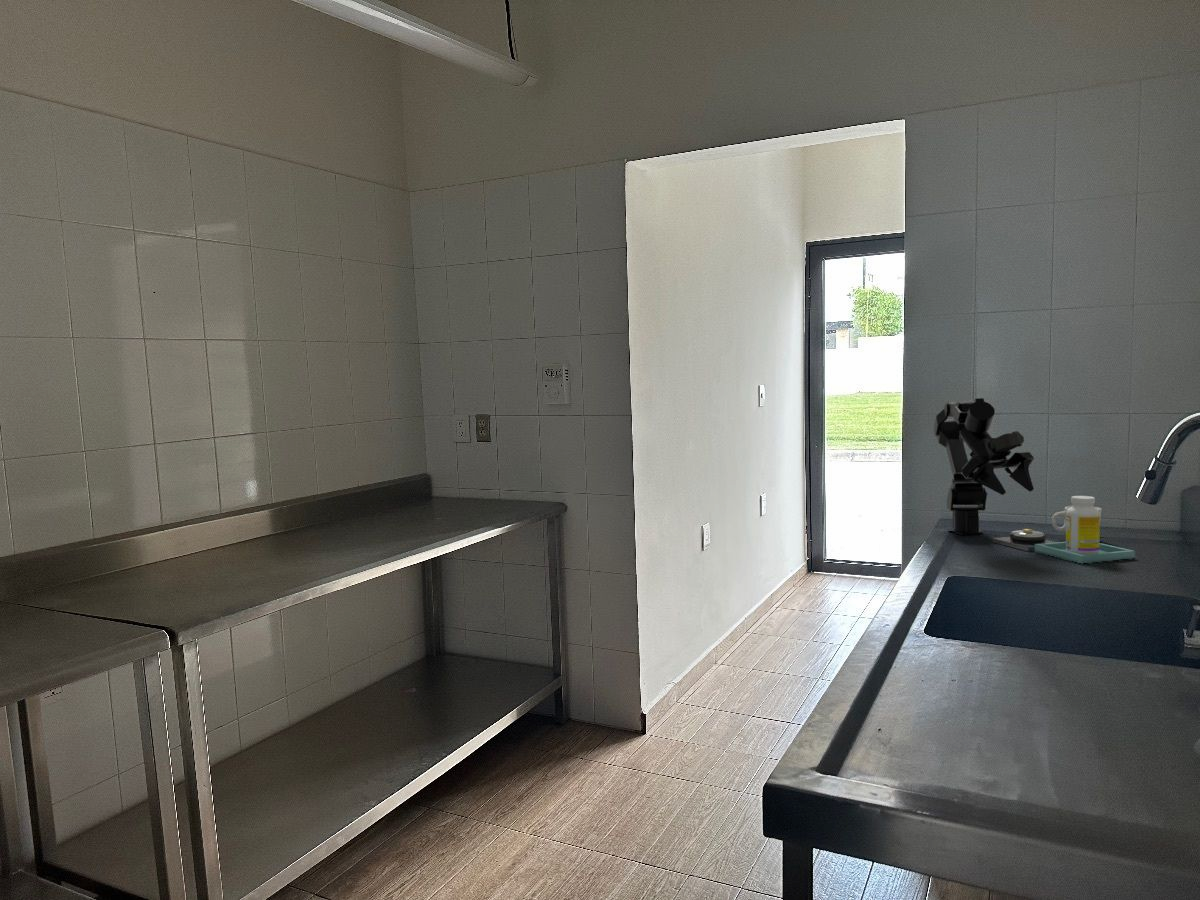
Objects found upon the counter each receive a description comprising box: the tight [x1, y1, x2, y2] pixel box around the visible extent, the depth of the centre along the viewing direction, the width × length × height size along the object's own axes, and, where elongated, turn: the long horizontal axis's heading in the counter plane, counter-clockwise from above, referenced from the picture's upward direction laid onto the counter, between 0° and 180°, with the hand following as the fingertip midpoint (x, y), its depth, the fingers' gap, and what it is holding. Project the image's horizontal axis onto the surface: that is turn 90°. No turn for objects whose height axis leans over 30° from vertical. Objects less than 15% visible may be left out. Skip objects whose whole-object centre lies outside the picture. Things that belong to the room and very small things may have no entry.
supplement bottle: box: [1065, 495, 1101, 555], centre depth 193 cm, size 7×7×13 cm
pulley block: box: [992, 528, 1056, 552], centre depth 206 cm, size 12×10×4 cm
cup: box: [1051, 505, 1103, 533], centre depth 210 cm, size 11×8×8 cm
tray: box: [1034, 540, 1136, 565], centre depth 193 cm, size 14×14×2 cm
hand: (1018, 492), depth 202 cm, fingers open, 9 cm apart
